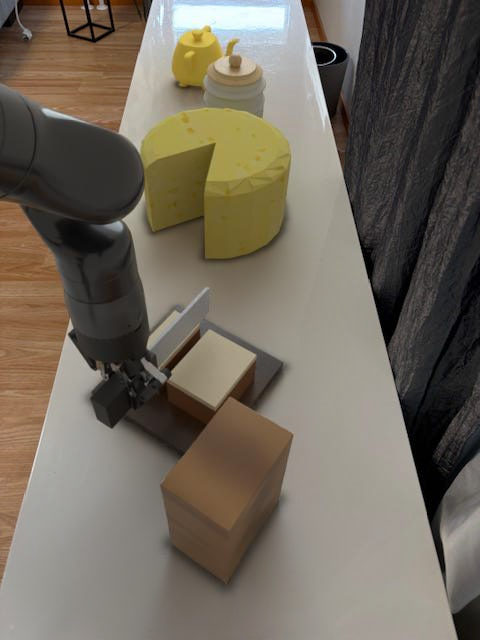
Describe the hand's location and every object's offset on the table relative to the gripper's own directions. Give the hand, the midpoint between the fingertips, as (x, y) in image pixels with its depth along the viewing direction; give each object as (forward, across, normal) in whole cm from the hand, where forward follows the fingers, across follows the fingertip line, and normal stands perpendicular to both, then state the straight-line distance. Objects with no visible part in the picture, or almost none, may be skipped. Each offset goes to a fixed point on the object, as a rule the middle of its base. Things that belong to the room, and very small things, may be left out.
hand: (129, 397), depth 69 cm
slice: (+8, -3, +11) cm, 14 cm away
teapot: (+10, -48, +84) cm, 97 cm away
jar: (+10, -30, +69) cm, 76 cm away
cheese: (+10, -18, +45) cm, 50 cm away
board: (+10, +1, +11) cm, 15 cm away
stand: (+10, +17, -3) cm, 20 cm away
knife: (0, 0, +6) cm, 6 cm away
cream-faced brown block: (+8, +5, +11) cm, 15 cm away
